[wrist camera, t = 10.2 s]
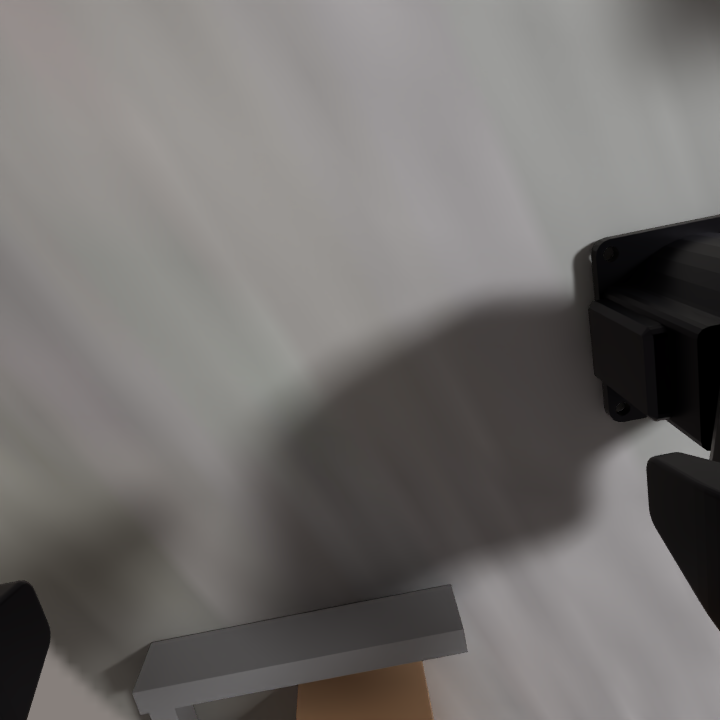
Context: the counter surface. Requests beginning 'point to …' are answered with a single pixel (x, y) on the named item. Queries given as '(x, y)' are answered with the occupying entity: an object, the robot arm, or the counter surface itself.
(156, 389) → the counter surface
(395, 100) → the counter surface
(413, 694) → the brown cardboard carton
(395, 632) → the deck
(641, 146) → the counter surface
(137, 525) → the counter surface
